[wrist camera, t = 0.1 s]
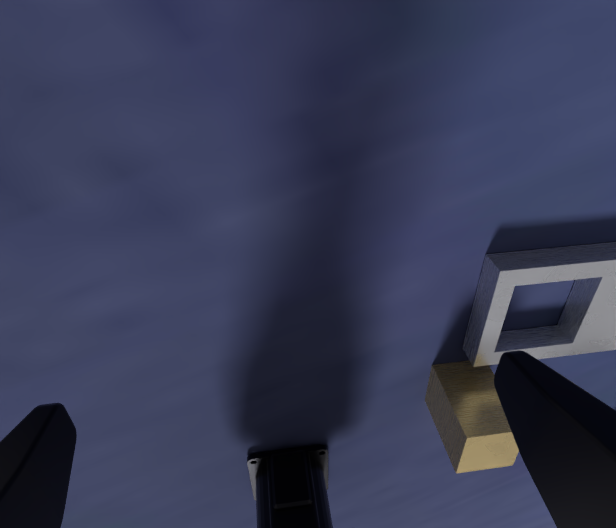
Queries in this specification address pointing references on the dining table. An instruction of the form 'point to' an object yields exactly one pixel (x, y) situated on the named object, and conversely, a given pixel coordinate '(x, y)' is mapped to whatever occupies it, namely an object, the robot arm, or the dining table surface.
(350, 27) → the dining table surface
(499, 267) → the rail
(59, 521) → the robot arm
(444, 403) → the golden block
